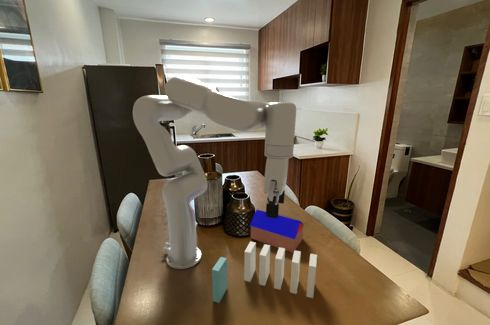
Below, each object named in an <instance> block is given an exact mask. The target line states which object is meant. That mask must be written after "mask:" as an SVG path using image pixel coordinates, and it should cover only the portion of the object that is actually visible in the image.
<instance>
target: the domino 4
mask: <svg viewBox="0 0 490 325" xmlns="http://www.w3.org/2000/svg"><path fill="white" fill-rule="evenodd" d="M285 256H286V250H285V248H281V247H279V248H278V250H277V252H276V255H275V258H274V282H273V288H274V289H275V290H279V291H281V289H282V284H283V281H284V278H285Z"/></svg>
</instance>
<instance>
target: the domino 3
mask: <svg viewBox="0 0 490 325" xmlns="http://www.w3.org/2000/svg"><path fill="white" fill-rule="evenodd" d="M270 261H271V245H269V244H266V243H263V247H262V248H261V250H260V252H259V262H258V263H259V264H258V265H259V267H258V268H259V269H258V270H259V271H258V285H260V286H264V287H265V286H266V285H267V284H266V283H267V282H268V281H267V280H268V278H269V275H270V267H271V266H270V265H271V264H270V263H271V262H270Z"/></svg>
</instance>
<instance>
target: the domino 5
mask: <svg viewBox="0 0 490 325" xmlns="http://www.w3.org/2000/svg"><path fill="white" fill-rule="evenodd" d="M301 253H302V251H301V250H294V253H293V255H292V260H291V267H290V268H291V269H290V286H289V293H291V294H295V295H297V293H298V287H299V283H300V282H299V281H300V268H301V255H302V254H301Z"/></svg>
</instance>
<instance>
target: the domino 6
mask: <svg viewBox="0 0 490 325" xmlns="http://www.w3.org/2000/svg"><path fill="white" fill-rule="evenodd" d="M317 259H318V254H314V253H310V255H309V263H308V274H307V283H306V284H307V285H306V298H310V299H314V296H315V295H314V294H315V284H316V272H317Z"/></svg>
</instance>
